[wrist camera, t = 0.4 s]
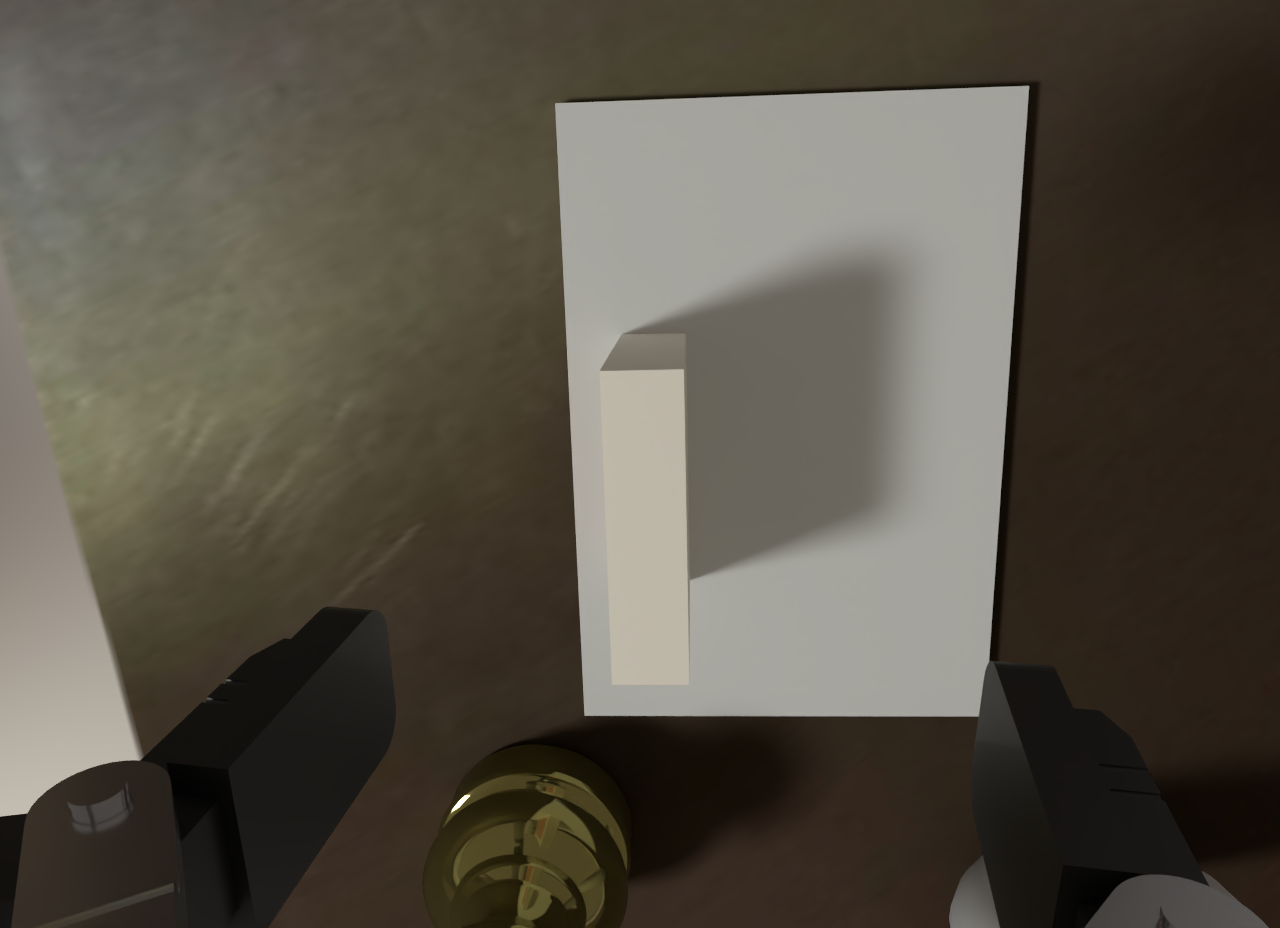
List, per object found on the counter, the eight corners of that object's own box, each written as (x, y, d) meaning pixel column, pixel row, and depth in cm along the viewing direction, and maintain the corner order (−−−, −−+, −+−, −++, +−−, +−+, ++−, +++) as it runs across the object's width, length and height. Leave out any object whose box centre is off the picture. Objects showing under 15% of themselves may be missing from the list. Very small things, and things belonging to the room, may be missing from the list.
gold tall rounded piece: (622, 911, 39) (598, 1140, 29) (443, 884, 39) (361, 1103, 29) (645, 753, 37) (629, 943, 27) (458, 725, 37) (376, 904, 28)
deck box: (618, 334, 32) (595, 371, 25) (685, 332, 32) (684, 369, 25) (627, 580, 35) (608, 684, 27) (689, 580, 35) (689, 684, 27)
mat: (557, 105, 31) (555, 103, 31) (1023, 87, 30) (1029, 85, 30) (585, 709, 37) (584, 715, 36) (981, 709, 36) (985, 716, 35)
